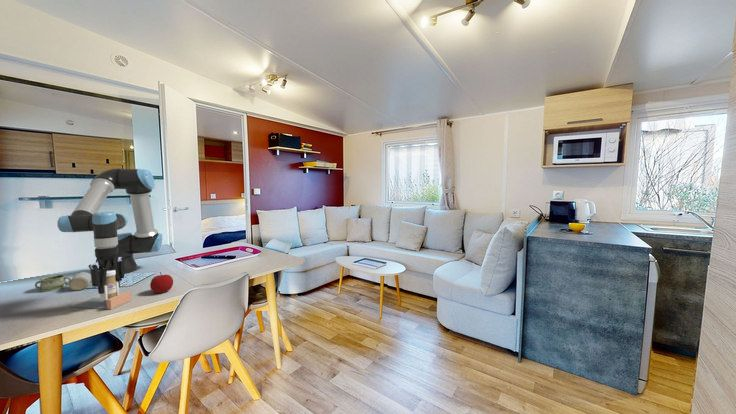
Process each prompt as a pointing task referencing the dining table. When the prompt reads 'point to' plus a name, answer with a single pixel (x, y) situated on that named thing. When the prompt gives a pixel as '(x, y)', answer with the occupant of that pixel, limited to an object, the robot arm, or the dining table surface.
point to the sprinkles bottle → (110, 284)
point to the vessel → (52, 283)
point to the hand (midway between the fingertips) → (110, 297)
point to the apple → (161, 283)
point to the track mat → (109, 303)
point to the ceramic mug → (80, 281)
